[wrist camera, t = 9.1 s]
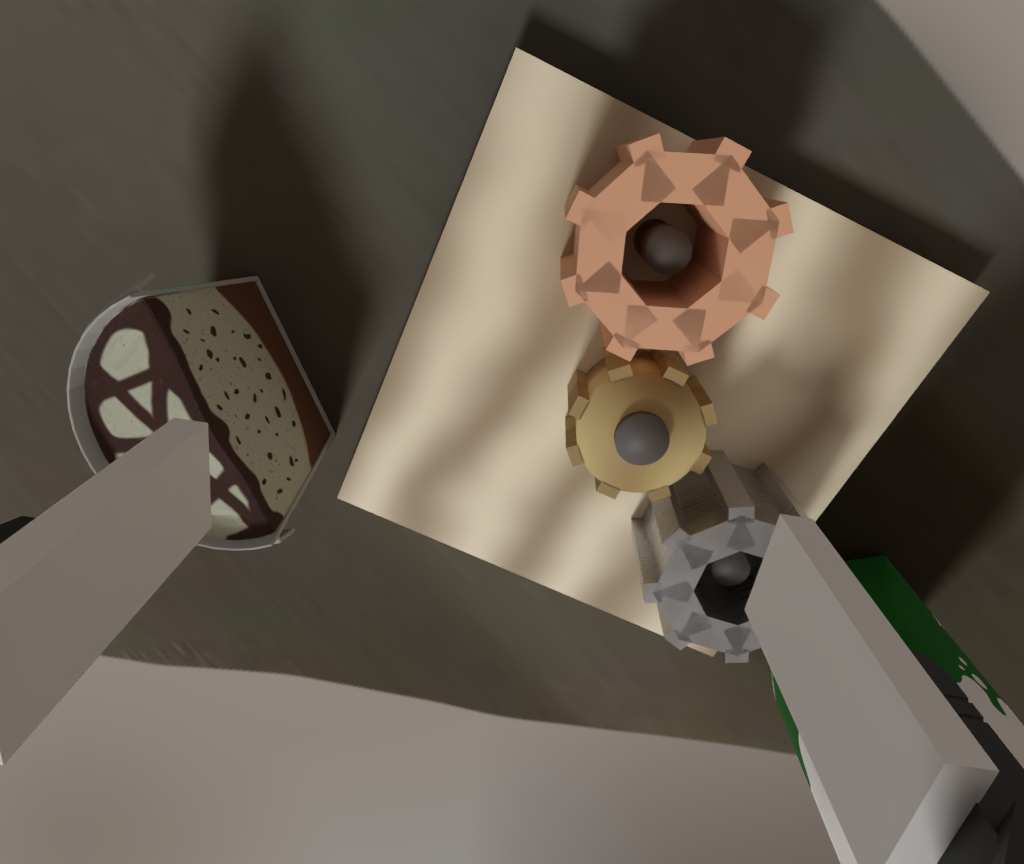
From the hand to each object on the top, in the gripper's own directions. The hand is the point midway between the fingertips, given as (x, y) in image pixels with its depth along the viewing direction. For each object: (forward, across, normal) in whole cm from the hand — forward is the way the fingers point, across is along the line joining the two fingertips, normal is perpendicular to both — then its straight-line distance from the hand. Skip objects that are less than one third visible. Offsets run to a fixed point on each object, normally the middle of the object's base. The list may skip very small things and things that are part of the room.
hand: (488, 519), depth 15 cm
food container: (+21, +14, +6) cm, 25 cm away
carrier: (+20, -6, +3) cm, 21 cm away
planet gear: (+18, -6, -5) cm, 20 cm away
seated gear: (+18, -12, +9) cm, 24 cm away
